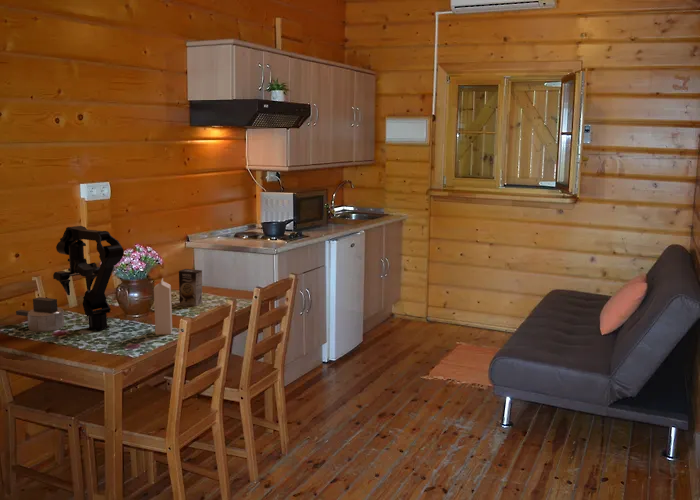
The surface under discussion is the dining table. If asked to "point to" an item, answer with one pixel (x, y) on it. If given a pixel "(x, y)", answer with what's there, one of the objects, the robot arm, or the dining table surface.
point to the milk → (163, 308)
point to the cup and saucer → (45, 307)
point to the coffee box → (190, 287)
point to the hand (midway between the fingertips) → (78, 293)
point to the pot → (43, 322)
